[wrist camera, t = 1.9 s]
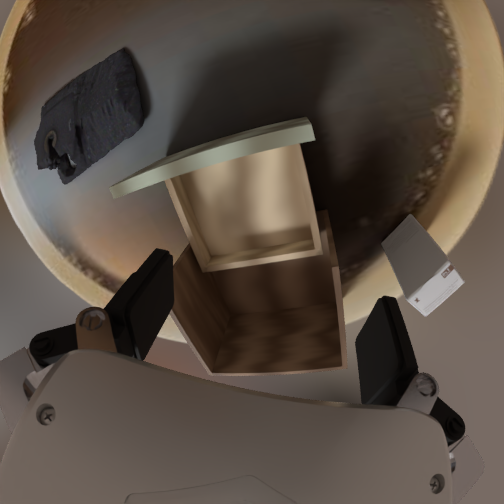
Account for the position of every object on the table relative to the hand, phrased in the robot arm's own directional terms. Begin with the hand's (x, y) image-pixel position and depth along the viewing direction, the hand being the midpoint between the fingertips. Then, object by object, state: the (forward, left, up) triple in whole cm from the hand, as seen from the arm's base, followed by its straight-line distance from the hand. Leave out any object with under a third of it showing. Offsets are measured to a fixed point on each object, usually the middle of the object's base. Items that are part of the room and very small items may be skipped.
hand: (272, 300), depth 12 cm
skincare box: (-13, +11, -23) cm, 29 cm away
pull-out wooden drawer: (+6, +2, -22) cm, 23 cm away
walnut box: (+6, +13, -22) cm, 27 cm away
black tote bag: (+25, -16, -23) cm, 38 cm away
